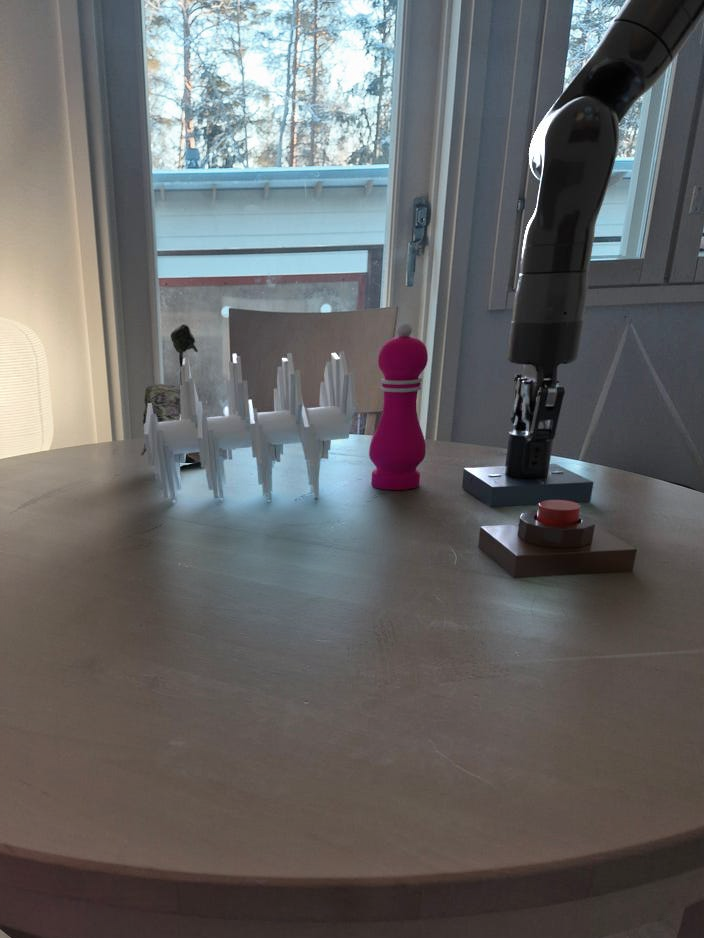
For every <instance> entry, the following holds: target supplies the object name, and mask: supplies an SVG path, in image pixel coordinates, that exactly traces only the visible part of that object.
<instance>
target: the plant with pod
mask: <svg viewBox="0 0 704 938" xmlns="http://www.w3.org/2000/svg"><path fill="white" fill-rule="evenodd" d="M170 340H171V342H172V343H173V347H174V350H175V351H176V352H177V353H179V354H178V355H179V357H178V360H179V378H180V379H179V381H180V386H181V385H182V382H181V369H180V367H181V366H182V364H183V359H184V356H183V355H184V353H185V352H187V351H189V350H193V351H194V352H195V353H197V352H198V351H199V350H198V348H197V346H196V345H195V343H196V339H195V337H194V335H193V333H192V331H191V329H190V327H189V326H188V325H187V324H185V323H184V324H181V325H180V326H178V327H177V328H175V329H174V330H173V331H172V332H171V333H170ZM180 386H175V385H170V384H164V383H153V384H149V385H148V386H147V387H146V388H145V393H144V405H145V406H144V407H145V408H144V411H143V420H142V425H143V426H144V424H145V423H146V414H147V406H148V403H152V407H153V414H156V416H157V420H158V422H164V421H175V420H179V419H180V414H181V402H180ZM146 452H147V451H146V446H145V444H144V445H143V448H142V450H141V452H140V456H143V455H145V453H146ZM185 463H194V464H196V463H201V459H200V452H193V453H189V454H186V458H185Z"/></svg>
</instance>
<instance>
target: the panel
mask: <svg viewBox="0 0 704 938" xmlns="http://www.w3.org/2000/svg"><path fill="white" fill-rule="evenodd" d="M504 472H505V465H503V466H481V467H464V468H463V473H462V474H463V476H462V484H461V488H463V489H464V490H465V491H466V492H467V493H469V494H471V495H472V496H474V497H475V498H476V499H477V500H479V501H481V502H482V503H483V504H485V505H486V506H488V507H489V508H490V509H491V508H492V509H493V508H510V507H529V506H530V507H531V506H532V507H533V506H539V503H540V502H542V501H546V500H565V501H571V502H575V503H577V504H586V503H587V504H588V503H589V504H590V503H591V501H592V495H593V490H594V481H593V480H590V479H588V478H586V477H584V476H582V475H580V474H578V473H575V472H573V471H571V470H569V469H567V468H565V467H563V466H561V465H559V464H557V463H550V464H549V471H548V476H547V477H544V478H539V479H520V478H513V477H509V476H507V475H505V474H504Z"/></svg>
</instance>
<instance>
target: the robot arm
mask: <svg viewBox="0 0 704 938" xmlns="http://www.w3.org/2000/svg"><path fill="white" fill-rule="evenodd" d="M703 19H704V0H625V1H624V3H623V5H621V7H620V9H619V10H618V12H617V14H616V15H615V17H614V18H613V19H612V21H611V23H610V24H609V25H608V27H607V29H606V30H605V32H604V33H603V35H602V37H601V39H600V41H599V43H598V44H597V46H596V47H595V49H594V50H593V52H592V54H591V55H590V57H589V58H588V60H587V61H586V62H585V64H584V65H582V67H581V69H580V70H579V71H578V72H577V73H576V75H575V76H574V78H573V79H572V80H571V81H570V83H569V84H568V85H567V86H566V88H565V90H563V92H562V93H561V94H560V96H559V97H558V99H556V101H555V102H554V104H553V105H552V107H551V108H550V109H549V111H548V112H547V113H546V115H545V116H544V118H543V119H542V121H541V122H540V123H539V125H538V127H537V129H536V131H535V132H534V135H533V138H532V140H531V143H530V147H529V153H528V155H529V156H528V157H529V159H528V160H529V166H530V169H531V172H532V174H533V175H534V176H535V178H536V179H537V180H538V181H540V183H539V189H538V194H537V201H536V206H535V207H536V208H535V210H534V213H533V215H532V217H531V218H530V220H529V221H528V224H527V226H526V230H525V233H524V239H523V245H522V251H521V252H522V253H521V261H520V270H519V276H518V281H517V286H516V289H515V293H514V299H513V305H512V314H511V321H510V330H509V338H508V347H507V353H506V359H507V361H508V362H509V363H512V364H516V365H523V366H522V367H523V368H522V371H521V373H515V374H514V376H513V390H512V391H513V392H512V393H513V394H512V404H511V405H512V406H511V415H510V423H511V424H512V431H513V430H520V429H526V435H525V440H526V442H525V447H524V455H523V462H522V469H521V470H522V472H523V473H524V474H540V473H541V472H542V468H543V461H544V455H545V448H546V442H549V439H553V440H554V439H555V436H556V431H557V428H558V423H559V418H560V415H561V410H562V405H563V400H564V397H565V394H566V391H565V387H564V386H560V385H561V383H560V382H561V381H560V380H559V379H558V367H559V366H560V365H568V364H571V363H574V362H575V361H576V360H577V359H578V355H579V349H580V342H581V337H582V336H581V335H582V331H583V324H584V318H585V312H586V306H587V300H588V291H589V290H588V289H589V271H590V267H591V266H590V265H591V259H592V252H593V248H594V241H595V231H596V224H597V220H598V217H599V214H600V211H601V210H602V206H603V203H604V201H605V196H606V193H607V190H608V187H609V183H610V180H611V178H612V173H613V171H614V170H613V169H614V166H615V163H616V158H617V154H618V148H619V140H620V123H621V121H622V120H623V119H624V118H625V116H626V115H627V113H628V112H629V110H630V109H631V108H632V106H633V105H634V104H635V103H636V101H638V100H639V99H640V98H641V97H642V96H643V95H644V94H645V93H647V92H648V91H649V90H650V89H652V88H653V86H654V85H655V84H656V83H657V82H658V81H659V80H660V78H661V77H662V76H663V75H664V74H665V72H666V71H667V70H668V68H669V67H670V65H671V64H672V63H673V61H674V60H675V58H676V57H677V56H678V54H679V52H680V51H681V49H682V48H683V47H684V46H685V44H686V43H687V41H688V40H689V39H690V37H691V36H692V34H693V33H694V31H695V30H696V29H697V27H698V25H699V24H700V23H701V21H702V20H703ZM540 423H543V425H542V426H543V428H539V425H540Z"/></svg>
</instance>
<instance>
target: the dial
mask: <svg viewBox="0 0 704 938" xmlns="http://www.w3.org/2000/svg"><path fill="white" fill-rule="evenodd" d="M525 435H526V429H520V430H513V429H512V430H510V431H509V434H508V441H507V448H506V449H507V450H506V457H505V465H504V466H505V472H504V474H505V475H507V476H509V477H513V478H520V479H539V478H544V477H547V476H548V471H549V464H551V463H550V462H551V457H552V451H553V445H554V439H549V442H546V448H545V455H544V461H543V468H542V472H541V473H540V474H524V473H523V472H522V470H521V469H522V462H523V455H524V447H525V442H526V440H525Z"/></svg>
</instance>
